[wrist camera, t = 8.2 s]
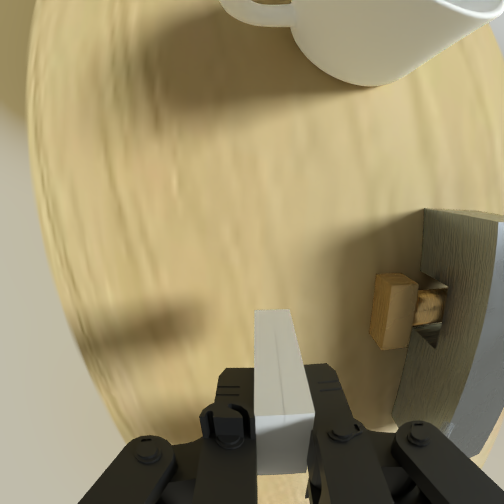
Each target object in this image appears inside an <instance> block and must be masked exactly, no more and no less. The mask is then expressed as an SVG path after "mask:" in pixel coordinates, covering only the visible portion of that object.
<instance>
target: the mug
mask: <svg viewBox="0 0 504 504" xmlns="http://www.w3.org/2000/svg"><path fill="white" fill-rule="evenodd" d="M219 2H220V4H221V5H222V7H223V8H224V9H225V11H226V12H227V13H228V14H230V15H231V16H232V17H234V18H236V19H237V20H239V21H241V22H244V23H247V24H251V25H255V26H263V27H290V28H291V32H292V35H293V38H294V40H295V42H296V44H297V45H298V47H299V48H300V50H301V51H302V52H303V53H304V55H305V56H306V57H307V58H308V59H309V60H310V61H311V62H312V63H313V64H314V65H316V66H317V67H318V68H319V69H321V70H322V71H324V72H325V73H327V74H329V75H331V76H333V77H335V78H337V79H339V80H342V81H344V82H347V83H351V84H355V85H360V86H381V85H386V84H389V83H392V82H395V81H397V80H399V79H401V78H402V77H404V76H406V75H407V74H409V73H410V72H412V71H413V70H415V69H416V68H418V67H419V66H421V65H422V64H424V63H425V62H427V61H428V60H430V59H431V58H433V57H434V56H436V55H437V54H439V53H440V52H442V51H443V50H445V49H447V48H448V47H450V46H451V45H453V44H454V43H456V42H458V41H459V40H461V39H462V38H464V37H465V36H467V35H469V34H470V33H472V32H474V31H475V30H477V29H478V28H480V27H482V26H483V25H485V24H487V23H488V22H490V21H492V20H493V19H495V18H497V17H498V16H500V15H501V14H502V13H503V11H504V0H292V1H291V4H281V5H266V4H260V3H256V2H253V1H251V0H219Z"/></svg>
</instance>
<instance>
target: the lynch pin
mask: <svg viewBox="0 0 504 504" xmlns="http://www.w3.org/2000/svg"><path fill="white" fill-rule="evenodd" d="M418 287H419V284H418V283H416V282H414V281H413V280H411V279H410V278H408V277H407V276H405V275H404V274H402V273H388V274H376V280H375V290H374V299H373V307H372V315H371V323H370V330H369V334H370V335H371V336H372V338H373V339H374V340H375V342H376V343H377V344H378V346H379V347H380V348H381V350H389V349H397V348H404V347H408V343H409V339H410V334H411V329H412V326H415V325H423V324H431V323H439V322H442V320H443V315H444V309H445V304H446V298H447V291H448V288H443V289H429V290H418Z"/></svg>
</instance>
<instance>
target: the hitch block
mask: <svg viewBox="0 0 504 504" xmlns="http://www.w3.org/2000/svg"><path fill="white" fill-rule="evenodd" d="M420 271H421V272H423V273H425V274H427V275H429V276H430V277H432V278H434V279H436V280H438V281H439V282H441V283H443V284H445V285H446V286H448V291H447V298H446V304H445V309H444V315H443V320H442V323H440V324H433V325H426V326H419V327H412V332H411V337H410V342H409V347H408V352H407V357H406V361H405V366H404V370H403V374H402V378H401V382H400V386H399V390H398V394H397V397H396V401H395V404H394V408H393V411H392V417H393V419H394V421H395V422H396V424H397V426H398V428H399V427H400V426H402V425H403V424H404V423H406V422H410V421H425V422H429V423H431V424H432V425H434V426H435V427H437V428H438V429H440V428H441V426H442V424H443V422H444V421H447V422H450V423H453V424H455V425H454V428H453V430H452V432H451V434H450V436H449V438H448V439H449V440H450V441H452V442H453V443H454V444H455V445H456V446H457V447H458V448H459V449H460V450H461V451H462V452H463V453H464V454H465V455H466V456H467V457H468V458H470V457H473V456H475V455H477V454H479V453H480V451H481V449H482V448H483V446H484V444H485V442H486V441H487V439H488V437H489V435H490V433H491V431H492V430H493V428H494V426H495V424H496V422H497V420H498V418H499V416H500V414H501V412H502V410H503V407H504V215H498V214H492V213H487V212H481V211H467V210H449V209H428V208H424V229H423V245H422V258H421V268H420Z"/></svg>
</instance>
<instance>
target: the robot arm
mask: <svg viewBox="0 0 504 504" xmlns="http://www.w3.org/2000/svg"><path fill="white" fill-rule="evenodd" d="M199 418H200V423H201V428H202V434H203V437H201V438H200V439H198V440H196V441H194V442H190V443H185V444H179V445H171V444H170V443H169V442H168V441H167V440H165V439H163V438H161V437H158V436H152V435H148V436H140V437H138V438H135V439H133V440H132V441H130V442H129V443H128V444H127V445H126V446H125V447H124V448H123V450H122V451H121V452H120V453H119V454H118V456H117V457H116V458H115V459H114V461H113V462H112V463H111V464H110V466H109V467H108V468H107V469H106V470H105V471H104V473H103V474H102V475H101V476H100V477H99V479H98V480H97V481H96V482H95V484H94V485H93V486H92V487H91V488H90V490H89V491H88V492H87V493H86V494H85V495H84V497H83V498H82V499H81V500H80V501H79V502H78V504H257V475H278V474H294V473H306V470H307V466H308V472H309V480H308V484H307V489H306V495H305V498H309V501H310V504H504V491H503V490H502V489H501V488H500V487H499V486H498V485H497V484H496V483H495V482H494V481H493V480H491V479H490V478H489V477H488V476H487V475H486V474H485V473H484V472H483V471H482V470H481V469H480V468H479V467H478V466H477V465H476V464H475V463H474V462H473V461H471V460H470V459H469V458H468V457H467V456H466V455H465V454H464V453H463V452H462V451H461V450H460V449H459V448H458V447H457V446H456V445H455V444H454V443H453V442H452V441H450V440H449V439H448V438H447V437H446V436H445V435H444V434H443V433H442V432H441V431H440V430H439V429H438V428H437V427H435V426H434V425H432V424H431V423H429V422H425V421H410V422H406V423H404V424H403V425H402V426H400V427H399V429H398V430H397V432H396V433H384V432H374V431H370V430H367V429H366V428H365V427H364V426H363V424H362V423H361V422H359V421H357V420H356V419H354V418H353V416H352V413H351V410H350V408H349V405H348V402H347V400H346V397H345V394H344V392H343V390H342V387H341V384H340V382H339V379H338V376H337V374H336V371H335V370H334V369H333V368H331V367H330V366H329V365H328V364H327V363H324V364H311V365H303V361H302V357H301V353H300V349H299V345H298V341H297V337H296V333H295V329H294V325H293V321H292V317H291V313H290V309H276V310H255V321H254V368H226V369H225V370H224V371H223V372H222V373H221V375H220V376H219V379H218V384H217V390H216V396H215V402H214V403H213V404H210V405H209V406H207V407H206V408H205V409H203V410H202V412H201V414H200V416H199Z"/></svg>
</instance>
